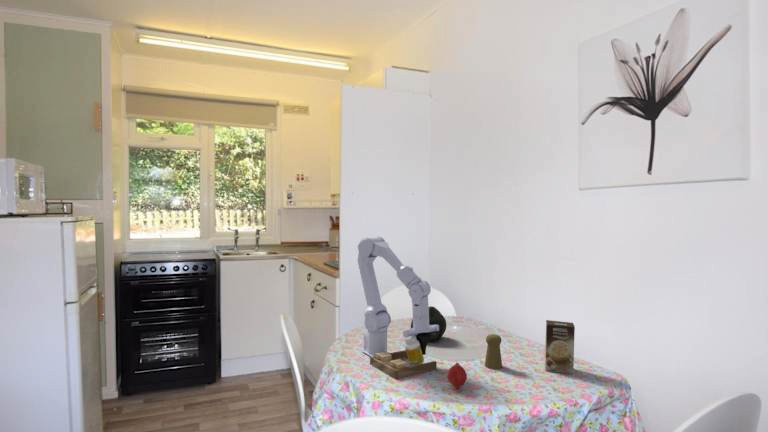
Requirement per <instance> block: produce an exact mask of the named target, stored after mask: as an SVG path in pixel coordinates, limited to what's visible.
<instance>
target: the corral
mask: <svg viewBox="0 0 768 432" xmlns="http://www.w3.org/2000/svg"><path fill="white" fill-rule="evenodd" d="M389 354H391V355H392V361H393V360H397V359H400V360H402V359H406V358H407V359H408V356H407V353H406V349H404V350H399V351H394V352H390V353H389ZM369 365H371V366H372V367H374V368H376V369H377V370H379V371H381V372H382V373H384V374H386V375H388V376H389V377H391V378H393V379H394V380H396V379H401V378H404V377H408V376H413V375H417V374H418V375H419V374H421V373H426V372H431V371H435V370H437V361H436V360H434V361H429V362H428V361H427V362H425V363H424V362H423V363H422V364H419V365H415V366H412V365H410V366H407V367H406V368H401V369H397V370H396V369H394V368H392V367H390V366H389V365H387V364H385V363H383V362H381V361H380V360H378V359H376V356H373V357H371V356H369Z"/></svg>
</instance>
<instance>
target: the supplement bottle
mask: <svg viewBox="0 0 768 432" xmlns="http://www.w3.org/2000/svg"><path fill="white" fill-rule="evenodd" d="M404 342H405V344H404V350H406V353H407V356H408V357H407V359H408V362H409V365H410V366H415V365H419V364H424V362H425V357H424V355H423V353H422V350H421V346H420V343H419V341H417V339H416V336H415V335H414V336H409V337H408V338H406V337H404Z"/></svg>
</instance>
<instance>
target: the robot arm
mask: <svg viewBox="0 0 768 432" xmlns="http://www.w3.org/2000/svg"><path fill="white" fill-rule="evenodd" d="M357 250H358V256H357V265H358V269H359V274H360V279H361V282H362V287H363V292H364V296H365V301H366V305H367V307H366V309H365V311H364V322H363V323H364V327H365V329H366V330H365V331H364V333H363V349H362V350H361V352H362V353H363V354H365V355H368V356H369V357H373V356H376V354H377V353H382V352H387V353H391V352H389V351H388V327H389V326H390V325H391V322H392V318H391V315H390V313H389V312H388V310H387V307H386V306H385V304H383V303H382V298H381V293H380V290H379V286H378V281H377V276H376V272H375V268H374V261H375V260H376V258H377V257H380V258H383V259H384V260H385V262H387V263H388V264H389V265H390V266H391V268H393V270H394V271H395V272H396V277H397V278H398V280H399V281H400V282H401V283H402V285H404V287H405V288H407V290H408V291H407V292H408V296H409V297H410V299H411V305H412V307H411V308H412V318H413V328H411V327H410V328H409V329H406V330H403V331H402V336H403V338H405V337H406V338H408V337H409V336H414V335H415V336H416V339H417V341H419V343H420V346H421V350H422V353H423V356H425V355H426V354H427V351H426V350H427V347H428V344H429V342H430V341H429V339H430V337H431V334H428V332H432V331H439V325H436V324H435V325H429V307H430V306H429V295H430V294H431V290H432V289H431V286H430V284H429V282H428V281H427V280H423V279H422V278H421V277H420V276H418V274H416V272H415V271H414V268H413V267H412V266H409V265H404V264H403V262H402V261H401V260H400V259H399V258H398V256H397V255H396V254H395V252H394V251H393V250H392V249H391V248H390V245H389V243H388V242H387V241H386V240H385V239H384V237H382V236H375V237H374V236H373V237H364V238H362V239H360V241H359V243H358V245H357Z"/></svg>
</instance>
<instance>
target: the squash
mask: <svg viewBox="0 0 768 432" xmlns="http://www.w3.org/2000/svg"><path fill="white" fill-rule="evenodd" d="M428 307H429V325H435V324H436V325H439V331H432V332H428V334H431V337H430V339H429V340H430V341H429V342H434V341H435V340H437V341H439V340H441V339H442V338H443V336H444V334H445V332H446V330H447V321H446V318H445V316H444V315H443V314H442V313H441V311H440V310H439V309H437V308H436V307H435V306H431V305H430V306H428ZM411 328H413V317H412V319H411V322H410V329H411Z"/></svg>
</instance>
